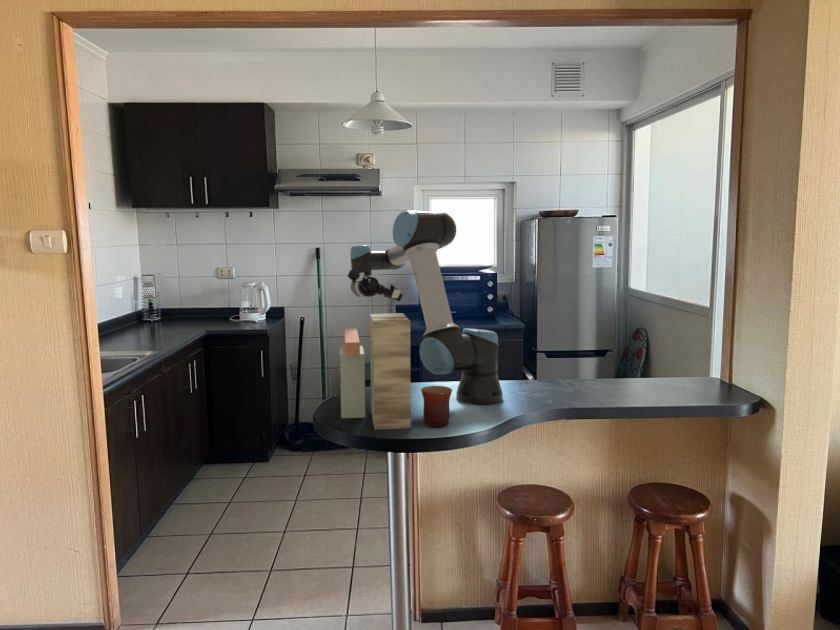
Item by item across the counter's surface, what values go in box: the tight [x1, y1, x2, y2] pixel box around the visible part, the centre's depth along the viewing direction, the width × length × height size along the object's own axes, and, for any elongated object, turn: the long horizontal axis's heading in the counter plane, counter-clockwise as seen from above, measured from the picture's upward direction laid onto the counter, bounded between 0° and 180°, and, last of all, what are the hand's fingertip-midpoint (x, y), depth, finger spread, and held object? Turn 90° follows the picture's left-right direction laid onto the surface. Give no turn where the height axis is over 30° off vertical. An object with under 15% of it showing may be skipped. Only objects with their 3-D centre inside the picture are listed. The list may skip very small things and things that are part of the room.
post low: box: [339, 345, 366, 419], centre depth 182 cm, size 14×7×19 cm, turn 8°
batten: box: [343, 327, 361, 356], centre depth 185 cm, size 28×4×4 cm, turn 8°
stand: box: [369, 313, 412, 431], centre depth 173 cm, size 18×10×30 cm, turn 8°
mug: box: [420, 385, 453, 429], centre depth 171 cm, size 12×9×10 cm
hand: (380, 285), depth 199 cm, fingers open, 13 cm apart
